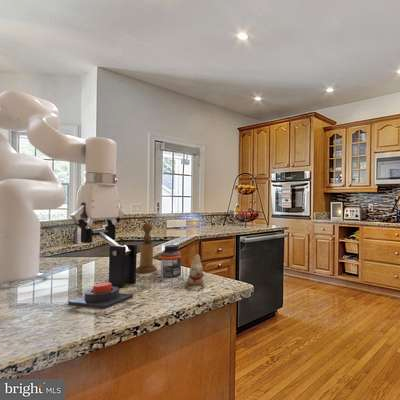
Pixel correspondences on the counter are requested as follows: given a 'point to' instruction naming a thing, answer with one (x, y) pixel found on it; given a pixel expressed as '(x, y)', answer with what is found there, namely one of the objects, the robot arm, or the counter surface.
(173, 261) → the supplement bottle
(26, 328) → the counter surface
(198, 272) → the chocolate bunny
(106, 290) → the button
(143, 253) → the brown chess piece
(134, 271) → the bracket
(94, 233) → the lever
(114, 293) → the button box
